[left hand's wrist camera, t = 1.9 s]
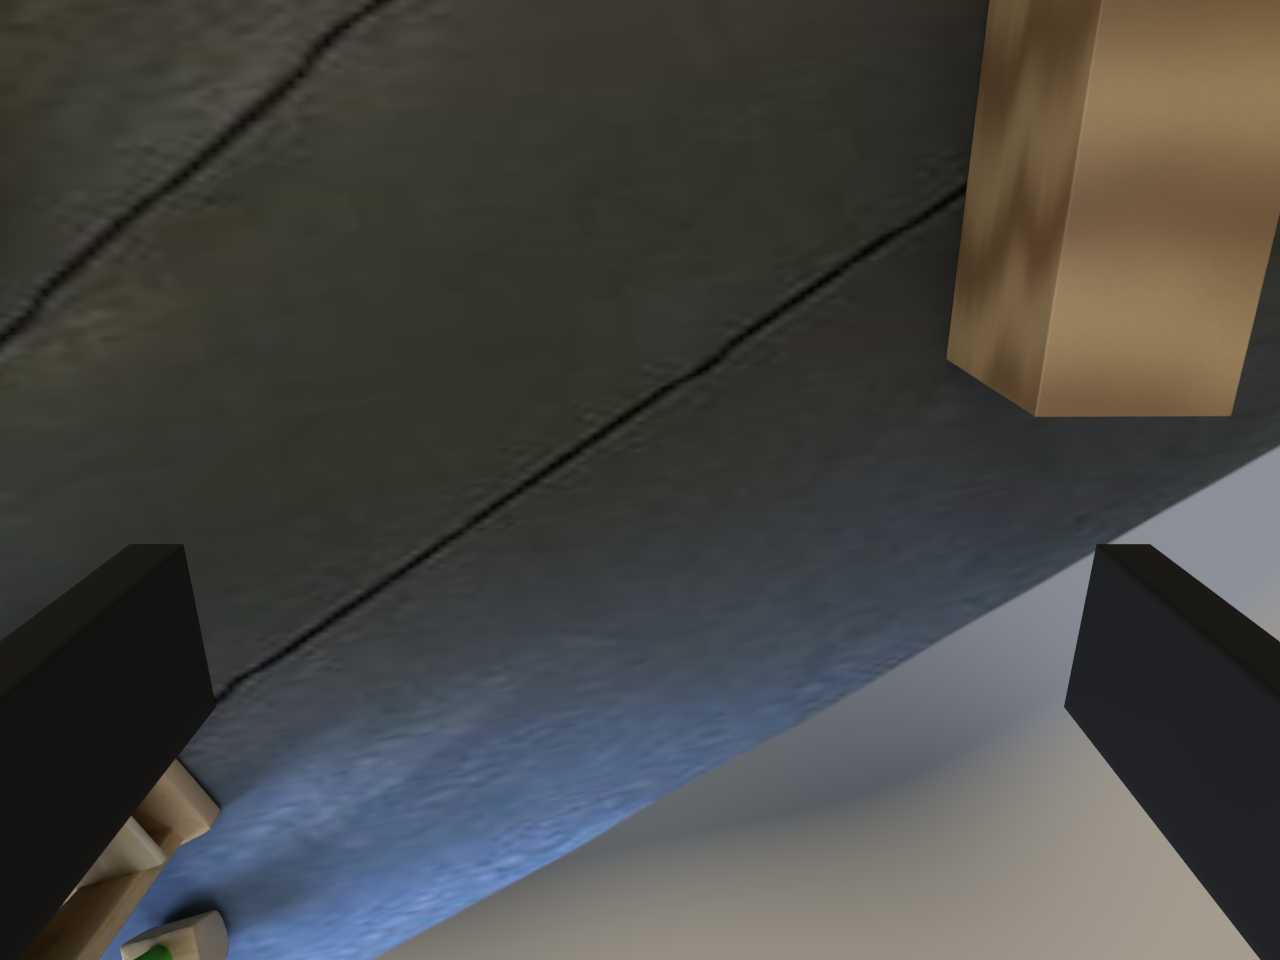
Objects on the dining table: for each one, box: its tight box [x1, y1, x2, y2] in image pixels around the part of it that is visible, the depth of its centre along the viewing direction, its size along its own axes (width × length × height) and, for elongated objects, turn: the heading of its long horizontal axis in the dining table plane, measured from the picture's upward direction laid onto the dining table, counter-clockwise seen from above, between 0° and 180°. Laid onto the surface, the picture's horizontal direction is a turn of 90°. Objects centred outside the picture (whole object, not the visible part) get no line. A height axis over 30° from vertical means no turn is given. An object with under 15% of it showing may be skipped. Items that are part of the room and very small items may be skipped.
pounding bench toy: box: [20, 759, 229, 960], centre depth 45 cm, size 23×14×18 cm, turn 29°
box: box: [947, 0, 1280, 417], centre depth 34 cm, size 27×8×10 cm, turn 0°
